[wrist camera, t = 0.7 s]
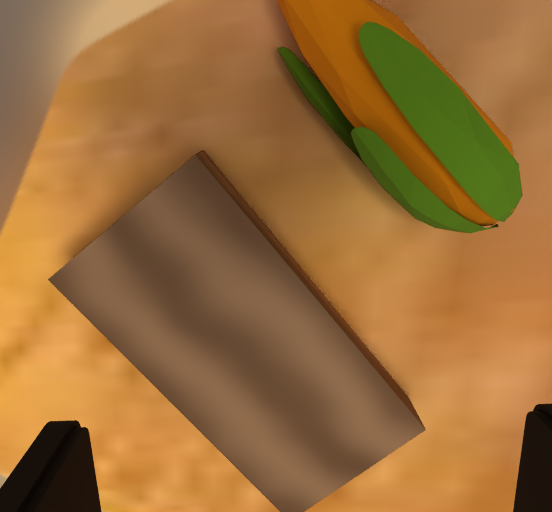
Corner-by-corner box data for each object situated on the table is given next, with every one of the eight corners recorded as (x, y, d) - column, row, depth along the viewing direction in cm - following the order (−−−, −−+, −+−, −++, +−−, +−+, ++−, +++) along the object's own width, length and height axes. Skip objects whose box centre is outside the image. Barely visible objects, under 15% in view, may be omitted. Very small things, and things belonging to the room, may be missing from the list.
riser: (203, 150, 32) (195, 154, 28) (408, 397, 37) (425, 429, 34) (72, 261, 34) (47, 279, 30) (287, 481, 39) (289, 521, 35)
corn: (485, 280, 27) (220, -4, 23) (431, 251, 34) (224, 32, 30) (588, 184, 26) (334, -130, 22) (510, 175, 33) (309, -61, 29)
